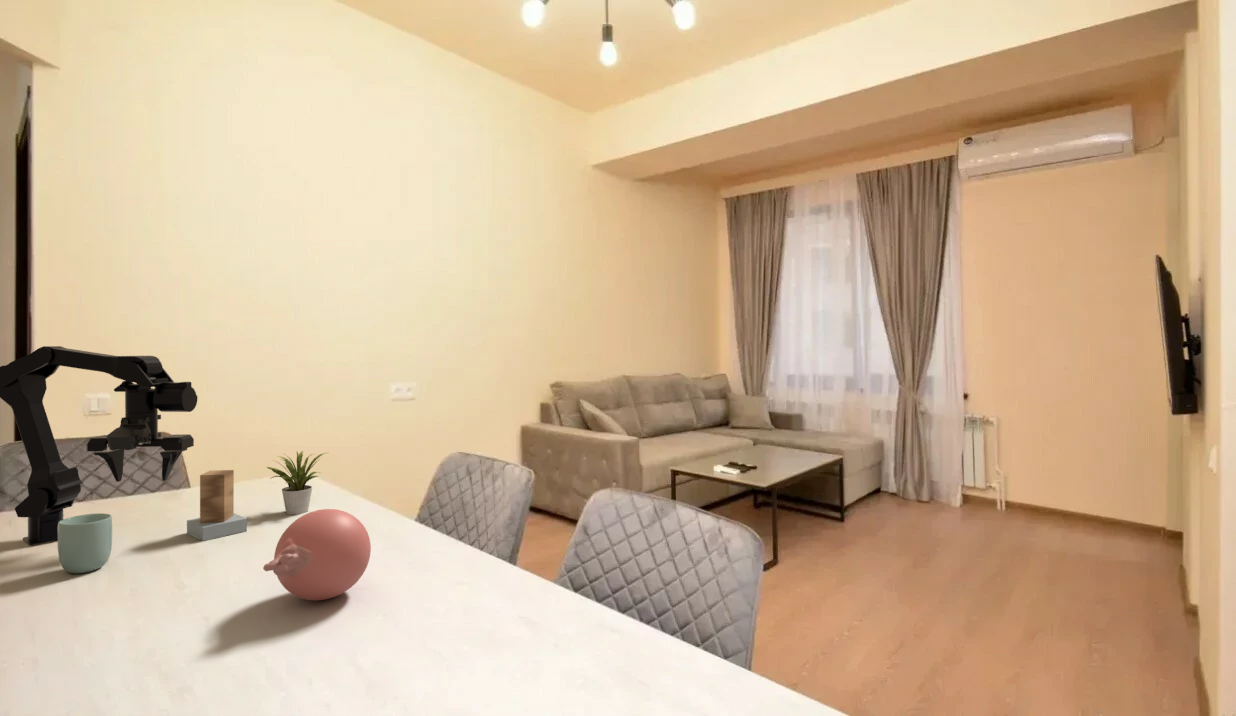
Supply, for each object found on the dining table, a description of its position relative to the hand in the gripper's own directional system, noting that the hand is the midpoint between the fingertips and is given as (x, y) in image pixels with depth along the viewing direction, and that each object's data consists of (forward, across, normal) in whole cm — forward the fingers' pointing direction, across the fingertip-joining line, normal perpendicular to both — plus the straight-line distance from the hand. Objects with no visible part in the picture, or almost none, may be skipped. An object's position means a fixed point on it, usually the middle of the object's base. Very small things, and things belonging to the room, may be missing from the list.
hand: (141, 480), depth 135 cm
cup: (+13, 0, -19) cm, 23 cm away
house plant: (+13, +27, +20) cm, 36 cm away
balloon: (+13, +48, -40) cm, 64 cm away
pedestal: (+13, +14, +3) cm, 19 cm away
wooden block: (+10, +14, +3) cm, 18 cm away
